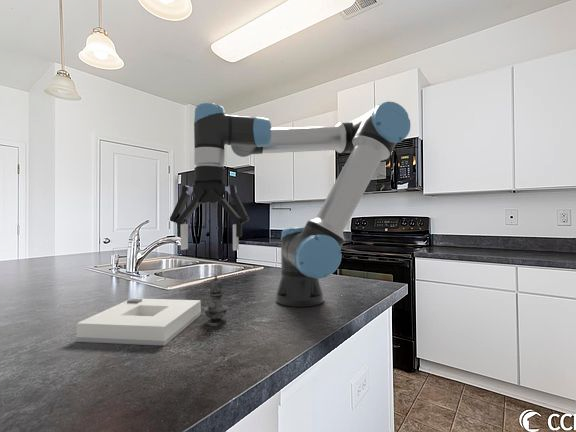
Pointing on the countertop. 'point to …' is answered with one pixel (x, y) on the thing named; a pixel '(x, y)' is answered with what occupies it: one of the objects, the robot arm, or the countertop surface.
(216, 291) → the dark gray chess piece
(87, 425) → the countertop surface
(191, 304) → the socket plate
